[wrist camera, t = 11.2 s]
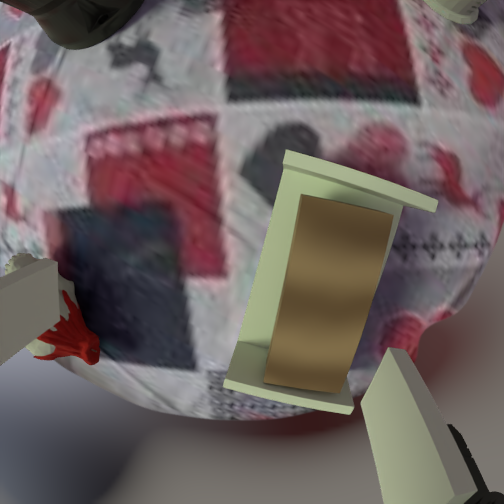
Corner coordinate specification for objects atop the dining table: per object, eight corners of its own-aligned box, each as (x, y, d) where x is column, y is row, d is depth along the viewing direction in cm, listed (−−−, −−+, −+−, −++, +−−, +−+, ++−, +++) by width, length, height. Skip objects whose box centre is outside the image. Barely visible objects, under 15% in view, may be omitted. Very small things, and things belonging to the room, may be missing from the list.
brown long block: (334, 369, 29) (339, 393, 25) (266, 358, 29) (263, 382, 25) (379, 210, 25) (393, 215, 21) (300, 193, 25) (302, 195, 22)
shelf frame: (288, 153, 28) (288, 143, 20) (405, 190, 27) (440, 194, 20) (235, 349, 33) (221, 390, 25) (338, 374, 32) (347, 418, 25)
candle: (36, 240, 32) (128, 300, 34) (23, 306, 35) (104, 362, 37) (-8, 261, 24) (97, 338, 26) (-13, 334, 26) (78, 402, 28)
